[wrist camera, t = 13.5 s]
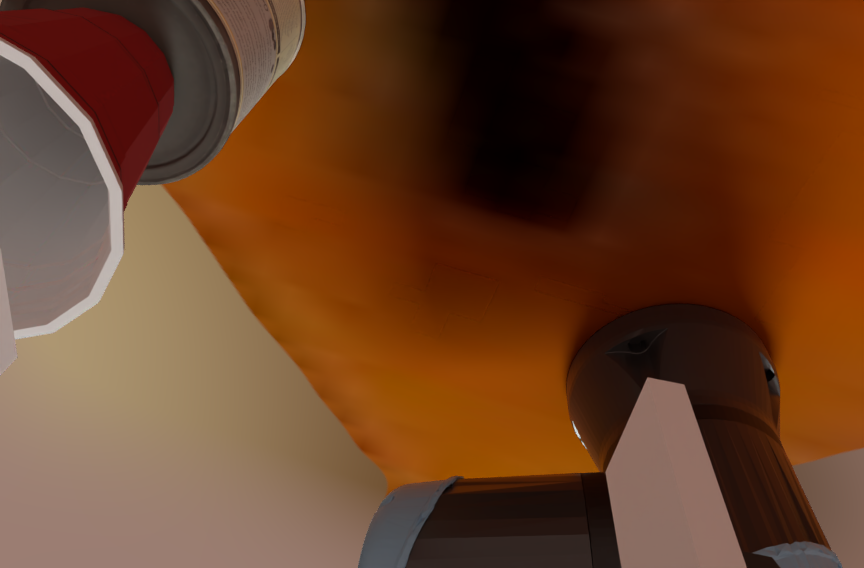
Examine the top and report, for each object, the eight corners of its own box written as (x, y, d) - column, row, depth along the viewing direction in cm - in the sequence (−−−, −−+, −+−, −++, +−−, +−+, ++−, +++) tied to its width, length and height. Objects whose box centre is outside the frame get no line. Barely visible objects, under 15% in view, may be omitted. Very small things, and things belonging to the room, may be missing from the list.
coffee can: (220, 122, 47) (124, 223, 35) (100, -19, 42) (-55, 41, 31) (343, 32, 43) (284, 110, 31) (225, -133, 39) (105, -115, 27)
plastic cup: (284, 145, 32) (185, 293, 22) (91, 221, 35) (-76, 382, 25) (144, -112, 27) (-70, -76, 17) (-68, 1, 30) (-361, 91, 20)
